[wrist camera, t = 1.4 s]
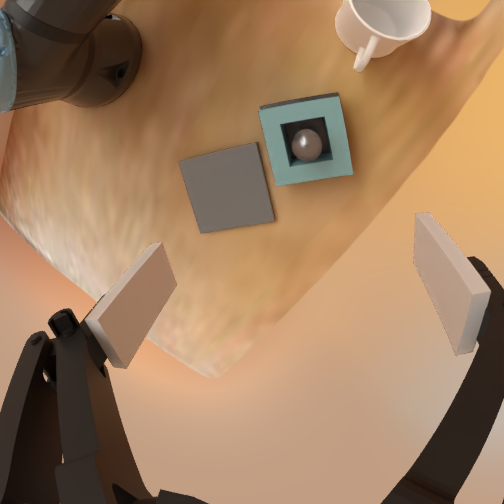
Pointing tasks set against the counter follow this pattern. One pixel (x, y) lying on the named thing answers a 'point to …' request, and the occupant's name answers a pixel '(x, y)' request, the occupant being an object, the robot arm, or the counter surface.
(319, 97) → the stand
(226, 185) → the coaster
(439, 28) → the counter surface
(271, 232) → the counter surface
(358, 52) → the mug
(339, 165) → the teal square frame
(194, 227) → the counter surface
